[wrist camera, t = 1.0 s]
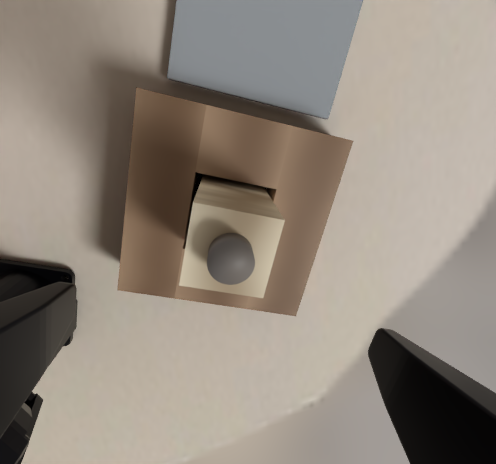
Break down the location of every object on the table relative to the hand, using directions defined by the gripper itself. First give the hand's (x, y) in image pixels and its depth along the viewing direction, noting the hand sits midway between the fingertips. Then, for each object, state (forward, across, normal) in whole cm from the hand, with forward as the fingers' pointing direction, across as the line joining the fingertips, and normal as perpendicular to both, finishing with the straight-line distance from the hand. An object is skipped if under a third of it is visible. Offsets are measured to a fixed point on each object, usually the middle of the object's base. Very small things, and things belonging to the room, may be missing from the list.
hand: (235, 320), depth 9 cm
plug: (+13, 0, 0) cm, 13 cm away
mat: (+13, 0, -12) cm, 17 cm away
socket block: (+13, 0, 0) cm, 13 cm away
